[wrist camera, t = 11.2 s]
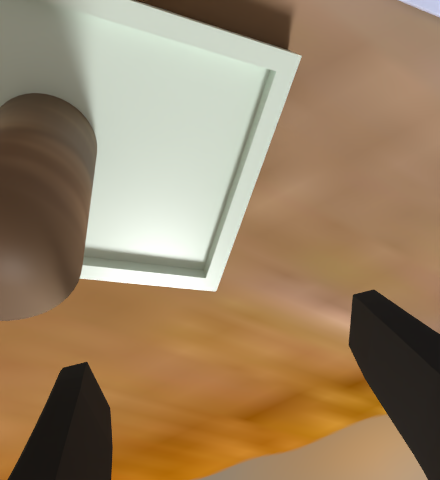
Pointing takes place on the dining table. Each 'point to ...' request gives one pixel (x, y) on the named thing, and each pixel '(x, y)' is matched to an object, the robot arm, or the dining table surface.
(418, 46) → the dining table surface
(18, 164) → the dowel pin
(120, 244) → the sage tray
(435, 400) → the robot arm
